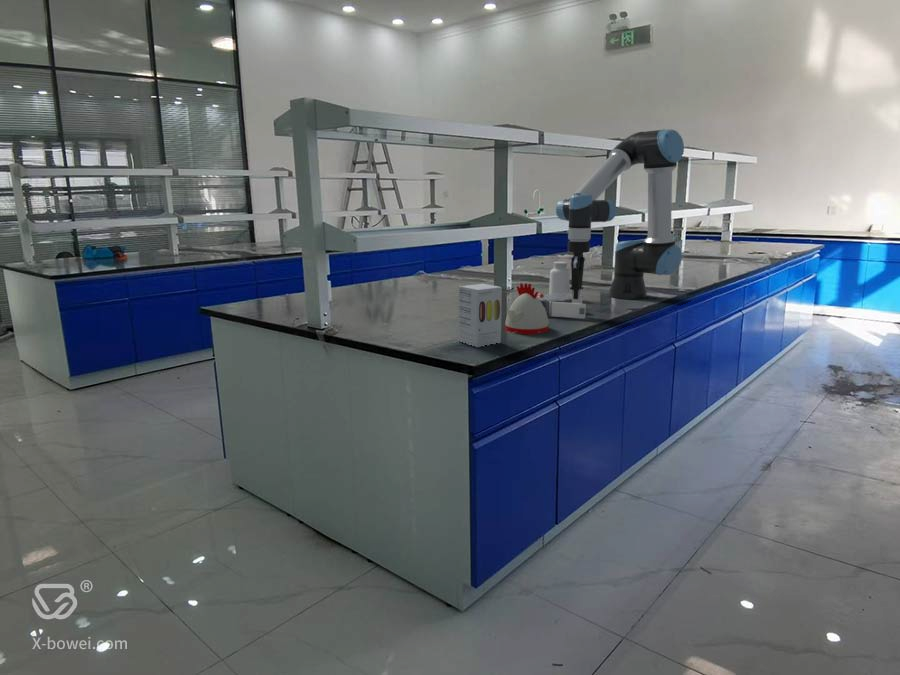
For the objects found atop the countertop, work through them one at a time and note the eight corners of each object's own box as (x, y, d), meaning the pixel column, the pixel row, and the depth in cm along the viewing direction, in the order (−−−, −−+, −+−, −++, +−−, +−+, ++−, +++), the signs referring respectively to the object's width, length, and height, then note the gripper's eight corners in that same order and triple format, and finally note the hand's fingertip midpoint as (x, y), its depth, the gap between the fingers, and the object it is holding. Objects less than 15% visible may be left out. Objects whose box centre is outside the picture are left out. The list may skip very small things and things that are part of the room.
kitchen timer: (524, 322, 205) (525, 278, 201) (557, 329, 195) (558, 283, 192) (496, 329, 196) (496, 283, 192) (529, 336, 186) (530, 288, 182)
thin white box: (585, 318, 209) (585, 303, 208) (584, 319, 208) (585, 303, 207) (549, 316, 214) (549, 301, 213) (548, 316, 212) (548, 301, 211)
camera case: (564, 307, 229) (565, 290, 228) (582, 312, 221) (582, 294, 219) (523, 312, 221) (524, 294, 219) (540, 317, 212) (541, 298, 211)
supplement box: (476, 348, 173) (476, 289, 169) (457, 341, 180) (457, 285, 176) (502, 343, 179) (502, 286, 174) (482, 337, 186) (482, 282, 182)
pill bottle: (568, 300, 243) (570, 263, 240) (548, 300, 245) (549, 263, 241) (569, 297, 251) (570, 261, 247) (549, 296, 252) (550, 260, 249)
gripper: (571, 238, 216) (568, 303, 221) (564, 241, 204) (561, 310, 209) (592, 239, 213) (589, 305, 219) (586, 242, 201) (583, 311, 207)
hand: (575, 307), depth 214 cm, fingers closed
